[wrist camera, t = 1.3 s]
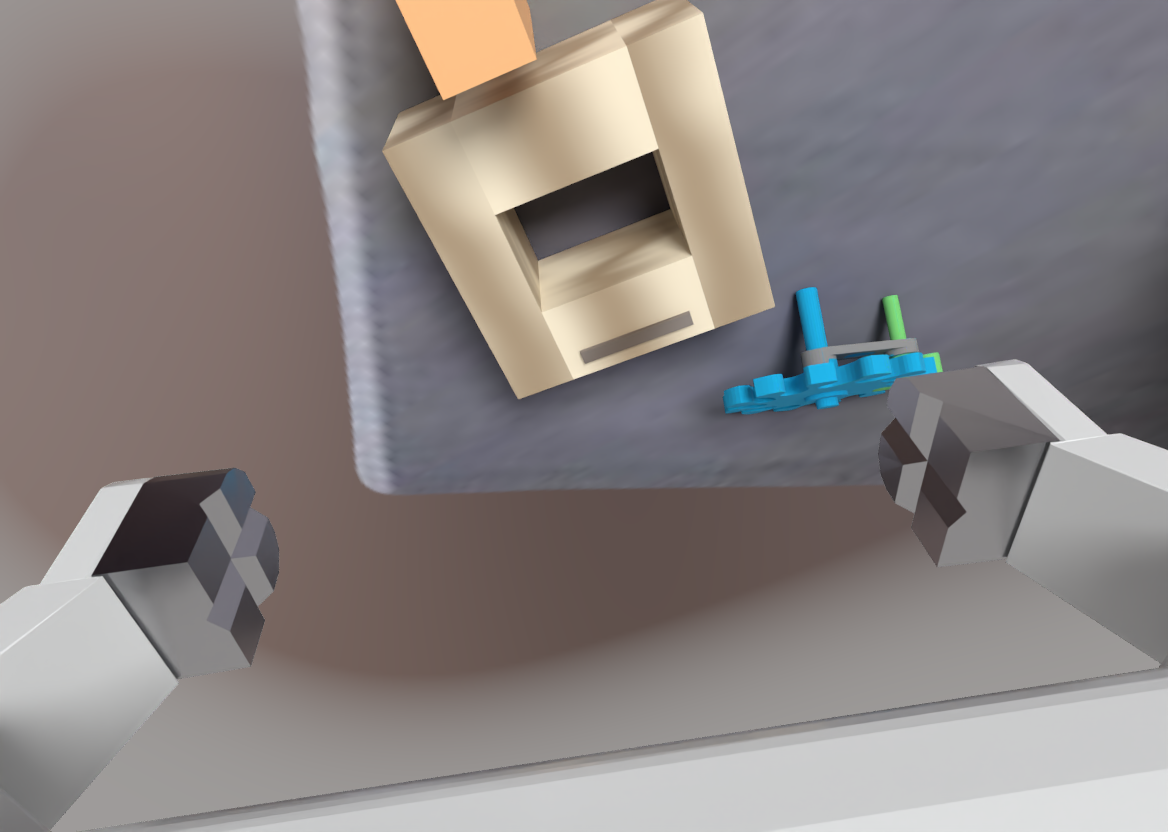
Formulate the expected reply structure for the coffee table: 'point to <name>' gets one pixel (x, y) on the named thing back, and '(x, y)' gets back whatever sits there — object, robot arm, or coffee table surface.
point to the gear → (835, 366)
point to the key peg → (470, 39)
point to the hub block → (572, 153)
